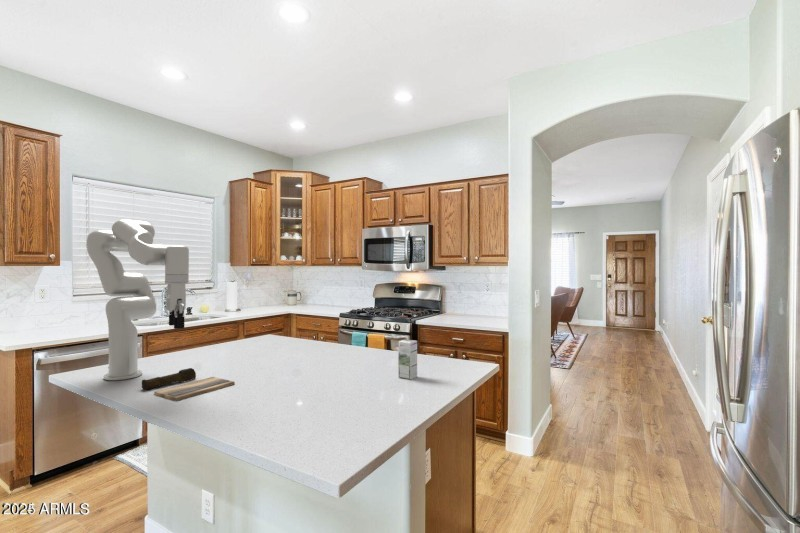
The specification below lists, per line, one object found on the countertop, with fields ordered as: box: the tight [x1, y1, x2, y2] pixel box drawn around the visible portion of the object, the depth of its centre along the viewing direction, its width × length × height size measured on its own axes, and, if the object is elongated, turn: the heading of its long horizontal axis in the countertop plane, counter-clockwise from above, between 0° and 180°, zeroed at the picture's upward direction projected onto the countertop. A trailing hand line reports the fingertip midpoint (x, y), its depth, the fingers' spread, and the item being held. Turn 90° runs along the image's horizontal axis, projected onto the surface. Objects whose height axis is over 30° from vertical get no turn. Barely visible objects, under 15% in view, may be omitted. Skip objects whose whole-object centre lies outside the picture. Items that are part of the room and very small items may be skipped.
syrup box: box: [397, 339, 418, 380], centre depth 161 cm, size 6×6×14 cm
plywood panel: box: [153, 376, 235, 402], centre depth 145 cm, size 13×22×1 cm, turn 149°
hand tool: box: [141, 367, 197, 391], centre depth 151 cm, size 19×4×5 cm, turn 144°
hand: (176, 326), depth 147 cm, fingers open, 9 cm apart
